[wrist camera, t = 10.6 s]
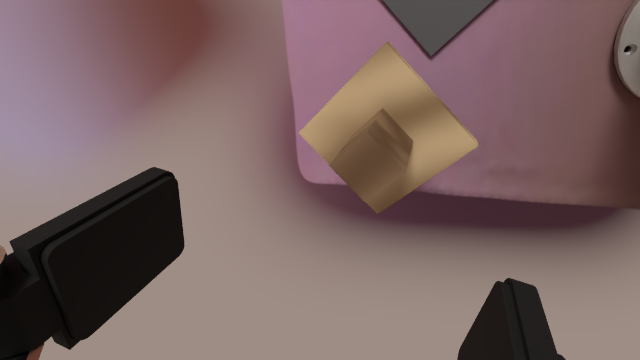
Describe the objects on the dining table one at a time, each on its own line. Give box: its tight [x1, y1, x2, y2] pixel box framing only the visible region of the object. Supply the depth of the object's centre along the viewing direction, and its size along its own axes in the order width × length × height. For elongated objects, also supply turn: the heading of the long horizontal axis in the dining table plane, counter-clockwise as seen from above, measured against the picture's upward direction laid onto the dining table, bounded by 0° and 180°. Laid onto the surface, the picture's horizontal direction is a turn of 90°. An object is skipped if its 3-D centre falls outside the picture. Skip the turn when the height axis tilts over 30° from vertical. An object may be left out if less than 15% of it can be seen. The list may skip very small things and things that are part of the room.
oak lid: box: [299, 41, 478, 214], centre depth 24 cm, size 10×10×7 cm
